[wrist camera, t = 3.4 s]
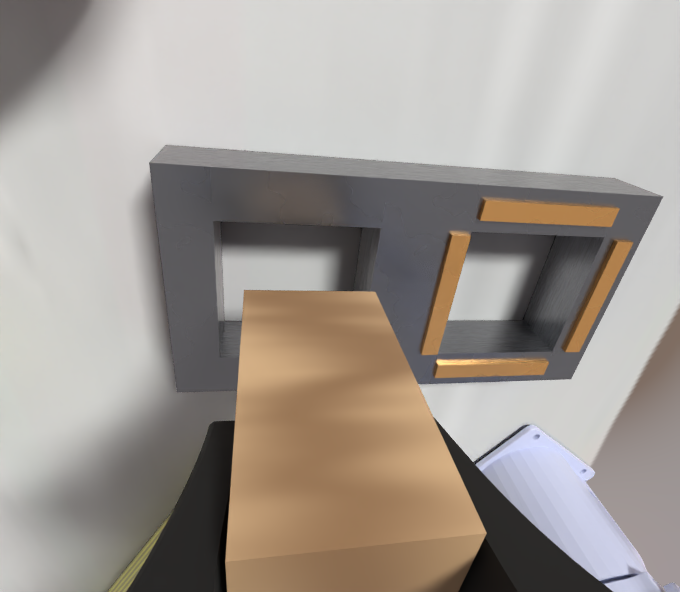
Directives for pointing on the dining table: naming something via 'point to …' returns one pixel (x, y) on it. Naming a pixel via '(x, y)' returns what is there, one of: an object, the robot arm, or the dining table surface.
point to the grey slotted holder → (398, 254)
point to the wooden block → (339, 457)
